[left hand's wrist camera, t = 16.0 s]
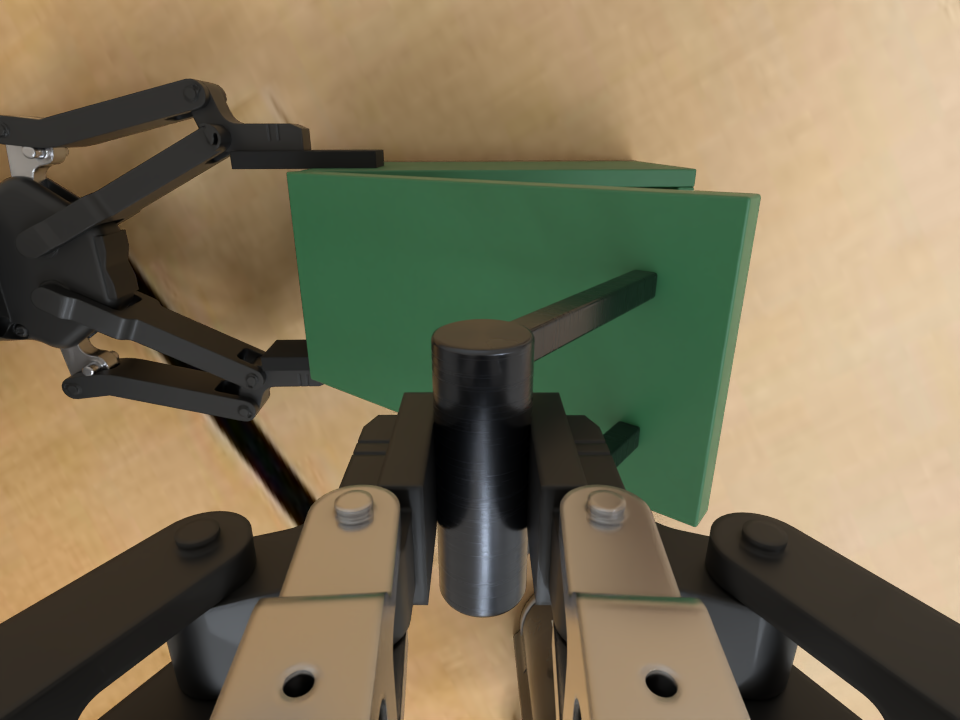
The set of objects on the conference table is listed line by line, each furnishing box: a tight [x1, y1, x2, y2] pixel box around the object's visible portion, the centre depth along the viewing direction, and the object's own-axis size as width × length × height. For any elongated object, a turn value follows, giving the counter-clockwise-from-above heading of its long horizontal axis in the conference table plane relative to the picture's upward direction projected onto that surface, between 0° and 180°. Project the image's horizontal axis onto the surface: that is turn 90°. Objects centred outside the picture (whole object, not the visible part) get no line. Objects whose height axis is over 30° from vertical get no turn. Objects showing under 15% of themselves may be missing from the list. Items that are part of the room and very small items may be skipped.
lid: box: [287, 171, 761, 617], centre depth 17 cm, size 18×9×9 cm
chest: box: [302, 161, 696, 190], centre depth 31 cm, size 17×9×10 cm, turn 90°
